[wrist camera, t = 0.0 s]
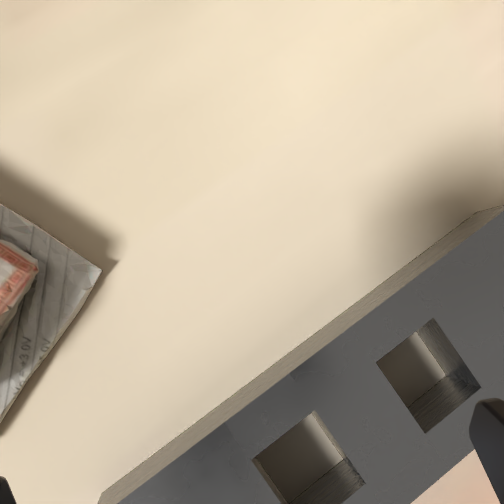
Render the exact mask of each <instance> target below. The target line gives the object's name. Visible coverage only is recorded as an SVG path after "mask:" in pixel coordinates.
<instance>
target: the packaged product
mask: <svg viewBox="0 0 504 504" xmlns="http://www.w3.org/2000/svg"><path fill="white" fill-rule="evenodd" d="M101 273H102V270H101V269H100V268H98V267H97V266H95V265H94V264H92V263H91V262H89V261H88V260H86V259H85V258H83V257H82V256H81V255H79V254H78V253H76V252H75V251H73V250H72V249H70V248H69V247H67V246H66V245H64V244H63V243H61V242H60V241H59V240H57V239H56V238H54V237H53V236H51V235H50V234H48V233H47V232H45V231H44V230H42V229H41V228H40V227H38V226H37V225H35V224H34V223H32V222H30V221H29V220H27V219H25V218H24V217H22V216H20V215H19V214H17V213H15V212H14V211H12V210H10V209H9V208H7V207H5V206H4V205H2V204H0V423H1V421H2V420H3V418H4V416H5V415H6V413H7V412H8V410H9V409H10V407H11V406H12V404H13V402H14V401H15V399H16V398H17V396H18V395H19V393H20V392H21V390H22V388H23V387H24V385H25V384H26V382H27V380H28V379H29V378H30V377H31V375H32V374H33V373H34V372H35V370H36V369H37V368H38V367H39V365H40V364H41V363H42V361H43V360H44V359H45V358H46V356H47V355H48V354H49V352H50V351H51V349H52V348H53V347H54V345H55V344H56V343H57V341H58V340H59V339H60V337H61V336H62V334H63V333H64V332H65V330H66V329H67V328H68V326H69V325H70V323H71V322H72V321H73V319H74V318H75V317H76V315H77V314H78V312H79V311H80V309H81V308H82V306H83V304H84V303H85V301H86V299H87V297H88V296H89V294H90V292H91V290H92V288H93V287H94V285H95V283H96V281H97V279H98V278H99V276H100V274H101Z"/></svg>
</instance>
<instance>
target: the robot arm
mask: <svg viewBox="0 0 504 504" xmlns="http://www.w3.org/2000/svg"><path fill="white" fill-rule="evenodd" d="M469 436H470V439H471V442H472V444H473V446H474V448H475V450H476V452H477V454H478V457H479V459H480V461H481V463H482V465H483V467H484V469H485V471H486V474H487V476H488V478H489V480H490V482H491V484H492V486H493V489H494V491H495V493H496V495H497V497H498V499H499V501H500V503H501V504H504V401H503V400H502V399H499V398H489V399H483V400H479V401H478V402H477V403H476V405H475V408H474V412H473V415H472V418H471V422H470V425H469ZM0 504H16V501H15V499H14V496H13V494H12V491H11V489H10V487H9V484H8V482H7V480H6V478H4V477H2V476H0Z"/></svg>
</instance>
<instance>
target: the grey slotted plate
mask: <svg viewBox="0 0 504 504" xmlns="http://www.w3.org/2000/svg"><path fill="white" fill-rule="evenodd" d="M415 331H417V333H418V334H419V336H420V337H421V339H422V340H423V342H424V343H425V345H426V346H427V347H428V349H429V350H430V352H431V353H432V355H433V356H434V358H435V359H436V361H437V362H438V363H439V365H440V366H441V368H442V369H443V371H444V372H445V374H446V375H447V376H446V377H445V378H444V379H442V380H441V381H440V382H439V383H437V384H436V385H435V386H434V387H433V388H431V389H430V390H429V391H428V392H426V393H425V394H424V395H423V396H421V397H420V398H419V399H418V400H417V401H415V402H414V403H413V404H412V405H410V406H409V407H408V408H407V407H406V406H405V404H404V403H403V401H402V400H401V398H400V397H399V396H398V394H397V393H396V391H395V390H394V388H393V387H392V385H391V384H390V382H389V381H388V380H387V378H386V377H385V375H384V374H383V372H382V371H381V369H380V368H379V367H378V365H377V364H376V362H377V361H378V360H380V359H381V358H382V357H383V356H385V355H386V354H387V353H389V352H390V351H391V350H392V349H394V348H395V347H396V346H397V345H399V344H400V343H401V342H403V341H404V340H405V339H406V338H408V337H409V336H410V335H412V334H413V333H414V332H415ZM489 398H499V399H502V400H503V401H504V205H502V206H499V207H495V208H491V209H487V210H483V211H479V212H477V213H475V214H474V215H473V216H471V217H470V218H469V219H467V220H466V221H465V222H463V223H462V224H461V225H459V226H458V227H457V228H455V229H454V230H453V231H451V232H450V233H449V234H447V235H446V236H445V237H443V238H442V239H441V240H439V241H438V242H437V243H435V244H434V245H433V246H431V247H430V248H429V249H427V250H426V251H425V252H423V253H422V254H421V255H419V256H418V257H417V258H415V259H414V260H413V261H411V262H410V263H409V264H407V265H406V266H405V267H403V268H402V269H401V270H399V271H398V272H397V273H395V274H394V275H393V276H391V277H390V278H389V279H387V280H386V281H385V282H383V283H382V284H381V285H379V286H378V287H377V288H375V289H374V290H373V291H371V292H370V293H369V294H367V295H366V296H365V297H363V298H362V299H361V300H359V301H358V302H357V303H355V304H354V305H353V306H351V307H350V308H349V309H347V310H346V311H345V312H343V313H342V314H341V315H339V316H338V317H337V318H335V319H334V320H333V321H331V322H330V323H329V324H327V325H326V326H325V327H323V328H322V329H321V330H319V331H318V332H317V333H315V334H314V335H313V336H311V337H310V338H309V339H307V340H306V341H305V342H303V343H302V344H301V345H299V346H298V347H297V348H295V349H294V350H293V351H291V352H290V353H289V354H287V355H286V356H285V357H283V358H282V359H281V360H279V361H278V362H277V363H275V364H274V365H273V366H271V367H270V368H269V369H267V370H266V371H265V372H263V373H262V374H261V375H259V376H258V377H257V378H255V379H254V380H253V381H251V382H250V383H249V384H247V385H246V386H245V387H243V388H242V389H241V390H239V391H238V392H236V393H235V394H234V395H232V396H231V397H230V398H228V399H227V400H226V401H224V402H223V403H222V404H220V405H219V406H218V407H216V408H215V409H214V410H212V411H211V412H210V413H208V414H207V415H206V416H204V417H203V418H202V419H200V420H199V421H198V422H196V423H195V424H194V425H192V426H191V427H190V428H188V429H187V430H186V431H184V432H183V433H182V434H180V435H179V436H178V437H176V438H175V439H174V440H172V441H171V442H170V443H168V444H167V445H166V446H164V447H163V448H162V449H160V450H159V451H158V452H156V453H155V454H154V455H152V456H151V457H150V458H148V459H147V460H146V461H144V462H143V463H142V464H140V465H139V466H138V467H136V468H135V469H134V470H132V471H131V472H130V473H128V474H127V475H126V476H124V477H123V478H122V479H120V480H119V481H118V482H116V483H115V484H114V485H112V486H111V487H110V488H108V489H107V490H106V491H104V492H103V493H102V494H101V496H100V499H99V501H98V504H288V503H287V501H286V500H285V499H284V497H283V496H282V494H281V493H280V491H279V490H278V489H277V487H276V486H275V484H274V483H273V481H272V480H271V479H270V477H269V476H268V474H267V473H266V471H265V470H264V469H263V467H262V466H261V464H260V463H259V461H258V460H257V459H256V457H255V456H257V455H258V454H259V453H260V452H262V451H263V450H264V449H266V448H267V447H268V446H269V445H271V444H272V443H273V442H275V441H276V440H277V439H278V438H280V437H281V436H282V435H283V434H285V433H286V432H287V431H289V430H290V429H291V428H292V427H294V426H295V425H296V424H298V423H299V422H300V421H301V420H303V419H304V418H305V417H307V416H308V415H309V414H310V413H312V415H313V416H314V418H315V419H316V420H317V422H318V423H319V425H320V426H321V428H322V429H323V430H324V432H325V433H326V435H327V436H328V438H329V439H330V441H331V442H332V443H333V445H334V446H335V448H336V449H337V451H338V452H339V453H340V455H341V456H342V458H343V459H344V460H343V461H341V462H340V463H339V464H338V465H336V466H335V467H334V468H333V469H331V470H330V471H329V472H328V473H326V474H325V475H324V476H323V477H322V478H320V479H319V480H318V481H317V482H315V483H314V484H313V485H312V486H310V487H309V488H308V489H307V490H306V491H304V492H303V493H302V494H301V495H299V496H298V497H297V498H296V499H294V500H293V501H292V502H291V503H289V504H410V503H412V502H413V501H414V500H415V499H416V498H417V497H419V496H420V495H421V494H422V493H423V492H424V491H426V490H427V489H428V488H429V487H430V486H431V485H433V484H434V483H435V482H436V481H437V480H439V479H440V478H441V477H442V476H443V475H444V474H446V473H447V472H448V471H449V470H450V469H451V468H453V467H454V466H455V465H456V464H457V463H458V462H460V461H461V460H462V459H463V458H464V457H465V456H467V455H468V454H469V453H470V452H471V451H473V450H474V449H475V448H474V446H473V444H472V442H471V439H470V436H469V425H470V422H471V418H472V415H473V412H474V408H475V405H476V403H477V402H478V401H479V400H483V399H489Z"/></svg>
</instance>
